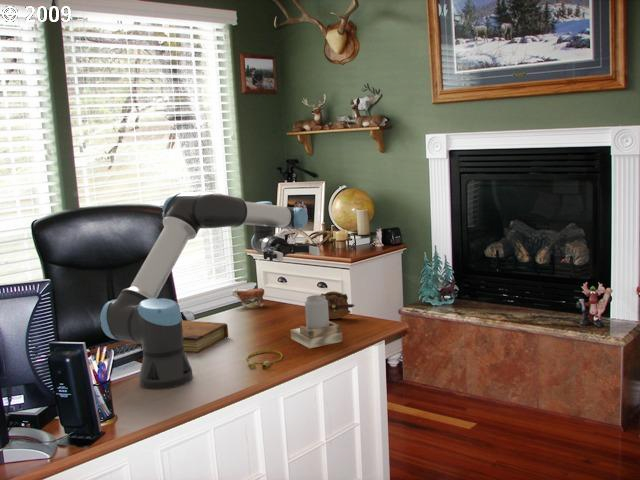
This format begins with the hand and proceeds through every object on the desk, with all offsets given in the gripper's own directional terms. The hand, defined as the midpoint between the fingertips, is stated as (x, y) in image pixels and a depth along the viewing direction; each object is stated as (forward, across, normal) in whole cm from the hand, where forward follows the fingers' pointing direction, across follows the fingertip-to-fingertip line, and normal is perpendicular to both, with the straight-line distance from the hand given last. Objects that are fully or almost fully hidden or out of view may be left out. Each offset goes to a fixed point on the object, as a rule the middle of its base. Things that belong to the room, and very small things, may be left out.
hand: (300, 254), depth 246 cm
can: (+9, 0, -25) cm, 27 cm away
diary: (-18, +37, -29) cm, 50 cm away
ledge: (+8, 0, -28) cm, 29 cm away
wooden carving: (-12, -17, -28) cm, 35 cm away
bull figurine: (-50, +1, -28) cm, 58 cm away
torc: (+16, +23, -28) cm, 40 cm away
